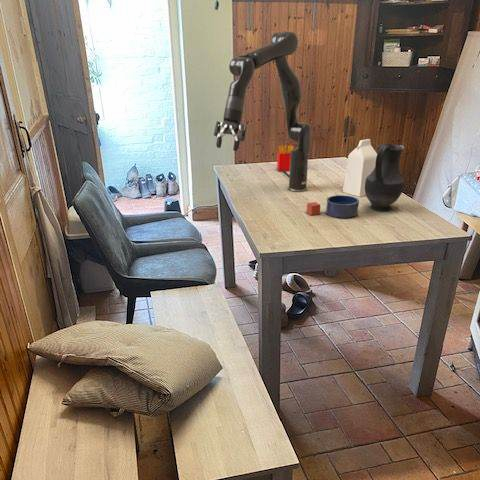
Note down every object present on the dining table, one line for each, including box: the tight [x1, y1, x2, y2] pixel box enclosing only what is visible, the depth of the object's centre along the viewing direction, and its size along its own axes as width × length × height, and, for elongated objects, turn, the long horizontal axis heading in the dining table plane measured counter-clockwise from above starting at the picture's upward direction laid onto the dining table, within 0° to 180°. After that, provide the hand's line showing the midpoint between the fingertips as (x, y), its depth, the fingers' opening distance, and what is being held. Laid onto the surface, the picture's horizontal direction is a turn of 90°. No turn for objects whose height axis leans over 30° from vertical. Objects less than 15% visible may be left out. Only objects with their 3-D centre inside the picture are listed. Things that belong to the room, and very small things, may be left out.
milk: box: [342, 138, 378, 198], centre depth 252 cm, size 12×12×26 cm
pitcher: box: [365, 143, 405, 212], centre depth 227 cm, size 17×21×30 cm
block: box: [306, 201, 321, 216], centre depth 229 cm, size 4×4×4 cm
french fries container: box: [276, 144, 295, 172], centre depth 296 cm, size 7×9×14 cm
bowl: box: [325, 194, 360, 219], centre depth 228 cm, size 14×14×6 cm
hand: (226, 149), depth 213 cm, fingers open, 8 cm apart
